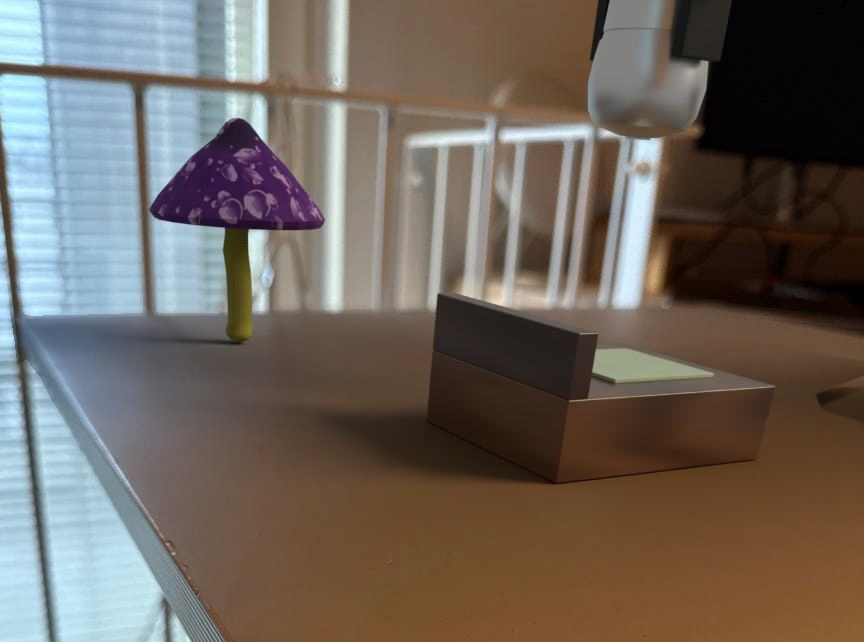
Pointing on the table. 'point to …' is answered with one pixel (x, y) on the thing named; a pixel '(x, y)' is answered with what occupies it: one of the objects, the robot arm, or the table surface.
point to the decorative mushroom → (237, 205)
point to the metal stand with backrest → (583, 397)
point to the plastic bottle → (644, 73)
